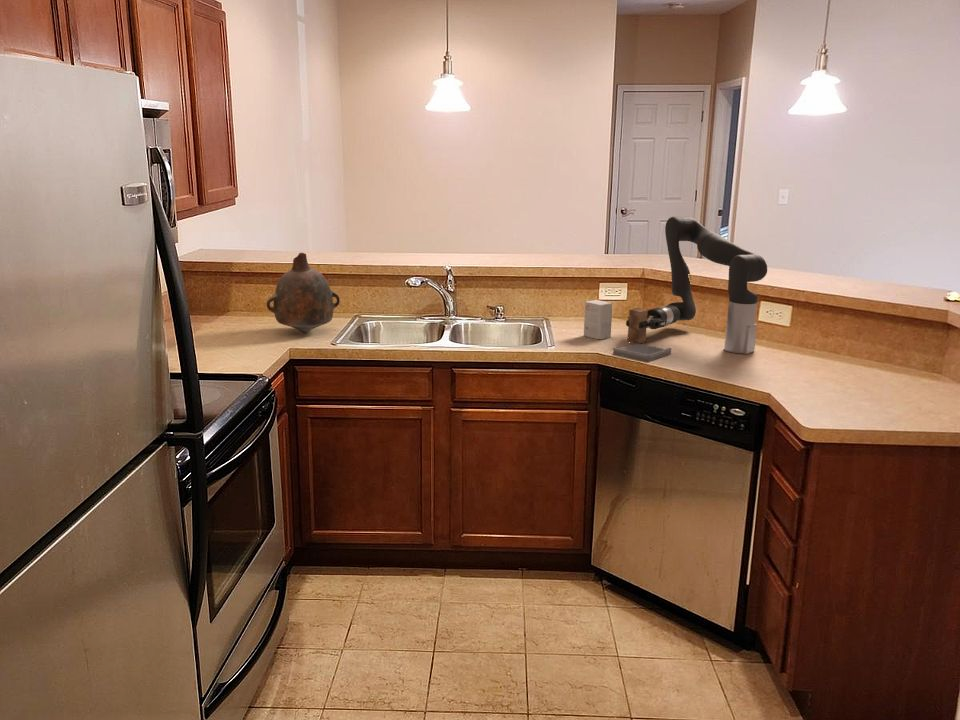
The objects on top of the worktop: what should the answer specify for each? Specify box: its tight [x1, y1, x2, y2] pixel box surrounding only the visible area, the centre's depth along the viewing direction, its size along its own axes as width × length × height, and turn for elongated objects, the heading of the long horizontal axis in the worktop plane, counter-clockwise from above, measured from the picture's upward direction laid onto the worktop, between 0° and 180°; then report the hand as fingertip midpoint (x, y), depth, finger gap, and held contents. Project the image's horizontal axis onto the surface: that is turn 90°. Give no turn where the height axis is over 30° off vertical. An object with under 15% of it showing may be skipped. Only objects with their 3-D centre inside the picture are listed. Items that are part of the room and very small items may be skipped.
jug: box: [266, 252, 341, 333], centre depth 288 cm, size 24×21×30 cm
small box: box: [583, 299, 613, 340], centre depth 289 cm, size 8×6×13 cm
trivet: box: [612, 343, 672, 362], centre depth 267 cm, size 14×14×2 cm
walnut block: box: [626, 307, 649, 344], centre depth 281 cm, size 5×5×12 cm
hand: (633, 324), depth 279 cm, fingers closed on walnut block, 4 cm apart
